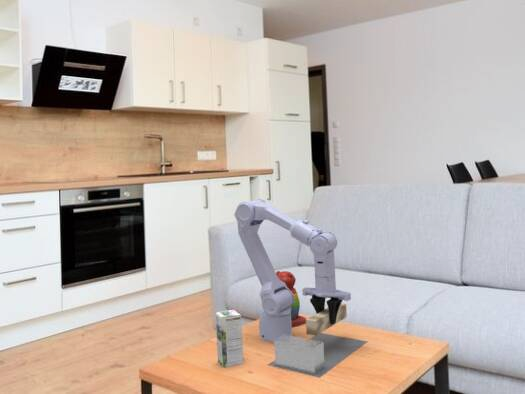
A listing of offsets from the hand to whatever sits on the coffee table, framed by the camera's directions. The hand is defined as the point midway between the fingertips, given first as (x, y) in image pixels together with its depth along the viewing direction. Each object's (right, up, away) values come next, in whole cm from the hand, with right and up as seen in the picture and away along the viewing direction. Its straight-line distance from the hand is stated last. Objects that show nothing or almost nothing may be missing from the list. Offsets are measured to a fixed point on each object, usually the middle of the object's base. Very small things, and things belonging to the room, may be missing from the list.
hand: (327, 322), depth 144 cm
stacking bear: (-10, -7, +27) cm, 29 cm away
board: (-2, -9, -4) cm, 10 cm away
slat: (0, -1, 0) cm, 1 cm away
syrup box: (-27, -10, -6) cm, 30 cm away
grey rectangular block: (-9, -8, -12) cm, 17 cm away
